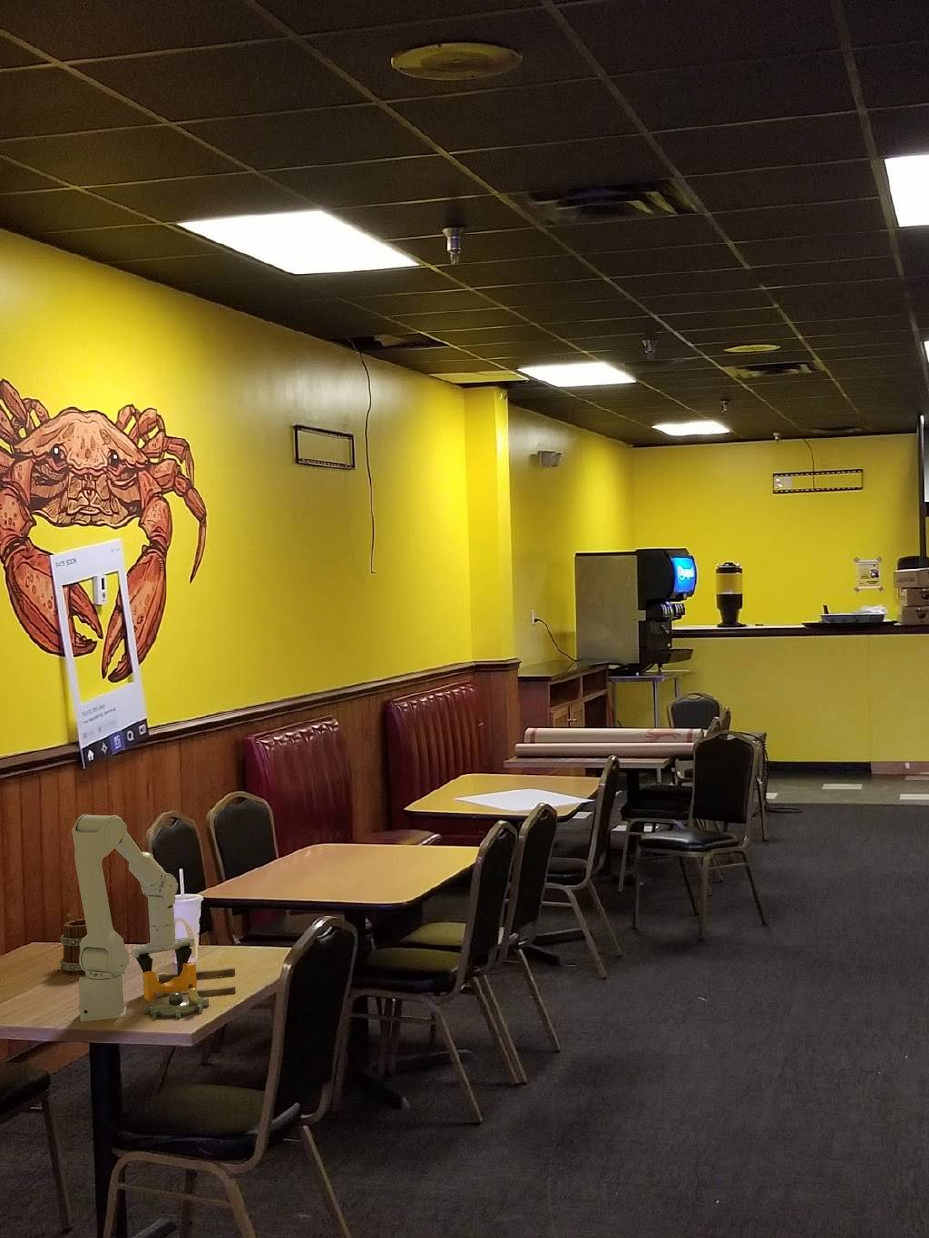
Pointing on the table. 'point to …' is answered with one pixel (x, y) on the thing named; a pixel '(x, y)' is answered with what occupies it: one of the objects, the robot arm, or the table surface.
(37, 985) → the table surface
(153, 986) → the pipe clamp
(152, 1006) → the sprocket
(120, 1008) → the robot arm
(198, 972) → the guide rails
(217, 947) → the table surface
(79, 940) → the mug
